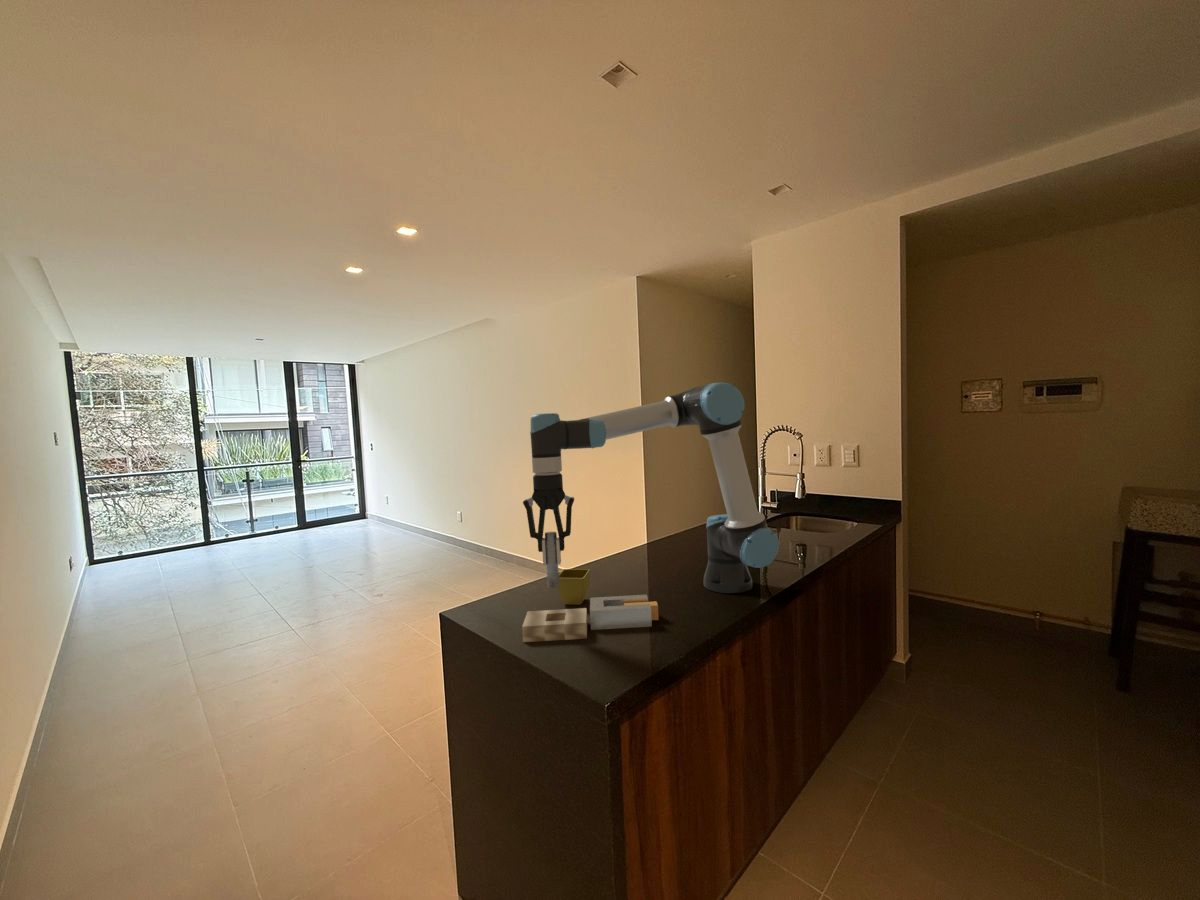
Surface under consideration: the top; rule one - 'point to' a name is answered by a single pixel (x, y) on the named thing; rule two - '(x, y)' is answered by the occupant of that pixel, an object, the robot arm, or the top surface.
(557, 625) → the rack block
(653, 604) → the drift key
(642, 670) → the top surface
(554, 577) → the drill peg
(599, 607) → the socket block
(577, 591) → the flower pot
